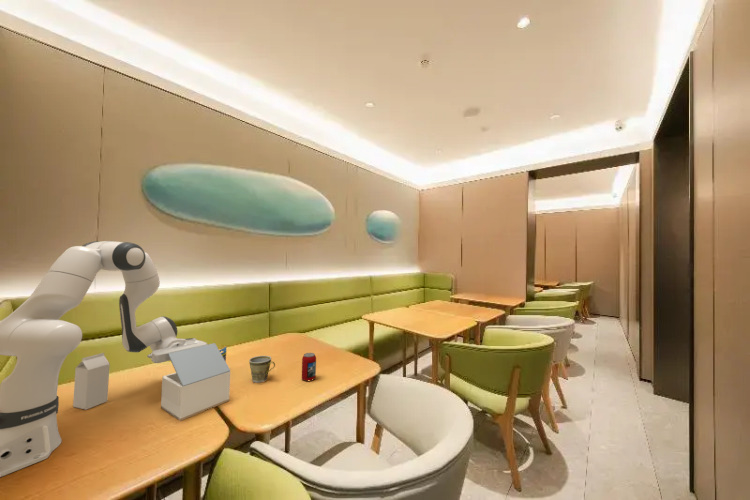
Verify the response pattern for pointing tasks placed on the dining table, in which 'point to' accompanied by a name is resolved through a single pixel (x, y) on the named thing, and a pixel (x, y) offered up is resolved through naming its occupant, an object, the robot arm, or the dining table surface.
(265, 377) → the ceramic cup
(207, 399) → the carton
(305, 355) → the beverage can
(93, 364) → the milk carton
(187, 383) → the carton lid flap
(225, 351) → the label tape box
